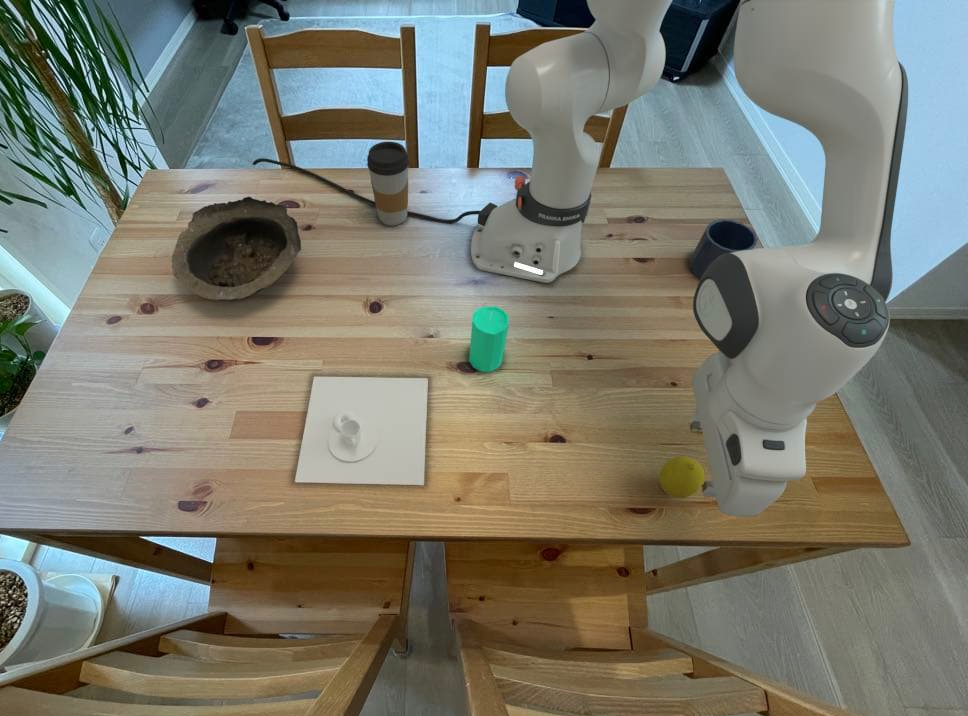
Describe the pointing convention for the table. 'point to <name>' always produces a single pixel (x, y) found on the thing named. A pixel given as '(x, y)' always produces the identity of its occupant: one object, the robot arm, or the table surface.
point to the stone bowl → (235, 248)
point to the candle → (488, 338)
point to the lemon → (681, 477)
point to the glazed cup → (720, 243)
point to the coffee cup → (389, 181)
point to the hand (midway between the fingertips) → (701, 459)
